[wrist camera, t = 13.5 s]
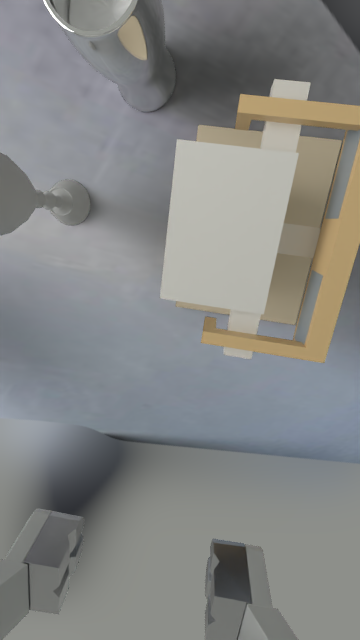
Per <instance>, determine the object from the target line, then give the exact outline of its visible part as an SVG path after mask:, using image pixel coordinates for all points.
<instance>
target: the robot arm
mask: <svg viewBox="0 0 360 640" xmlns="http://www.w3.org/2000/svg"><path fill="white" fill-rule="evenodd" d="M83 527H84V518H83V517H78V516H74V515H69V514H64V513H58V512H53V511H49V510H43V509H36V510H35V511H34V513H32V515H31V517H30V518H29V520H28V522H27V523H26V525H25V527H24V528H23V530H22V531H21V533H20V535H19V536H18V538H17V540H16V541H15V543H14V544H13V546H12V548H11V549H10V551H9V552H8V554H7V556H6V557H5V559H4V560H3V559H0V640H2V639H3V638H4V637H5V636H6V635H7V634H8V633H9V632H10V631H11V630H12V629H13V628H14V627H15V626H16V625H17V624H18V623H19V622H20V621H21V620H22V619H23V618H24V617H25V616H26V615H27V614H28V613H29V610H33V611H40V612H46V613H53V614H59V612H60V610H61V607H62V605H63V602H64V599H65V597H66V594H67V592H68V589H69V577H70V576H71V575H72V574H73V573H75V571H76V568H77V565H78V563H79V559H80V556H81V552H82V547H83V539H84V537H83V535H82V534H81V532H82V529H83ZM205 596H206V598H207V605H206V610H205V640H298V638H297V637H296V635H295V634H294V632H293V631H292V629H291V628H290V626H289V625H288V623H287V622H286V620H285V619H284V617H283V616H282V614H281V613H280V611H279V610H278V609H276V608H273V607H272V601H271V595H270V589H269V584H268V578H267V572H266V566H265V560H264V554H263V550H262V548H261V547H259V546H253V545H246V544H243V543H237V542H231V541H224V540H218V539H212V542H211V546H210V557H209V558H208V562H207V569H206V580H205Z"/></svg>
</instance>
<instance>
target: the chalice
mask: <svg viewBox="0 0 360 640" xmlns="http://www.w3.org/2000/svg"><path fill="white" fill-rule="evenodd" d="M42 207H44V208H45V209H47V210H50V212H51V213H52V214H53V215H54V216H55V218H56V219H58V220H59V221H60V222H61V223H63V224H66V225H71V226H74V225H78V224H80V223H81V222H83V221H84V220H85V219H86V217H87V216H88V214H89V211H90V198H89V195H88V193H87V191H86V189H85V188H84V187H83V186H82V185H81V184H80V183H79V182H76V181H74V180H69V179H65V180H61V181H59V182H58V183H56V184H55V185H54V186H53V187H52V188H51V189H50V191H45V192H42V191H40V190H35V188H34V187H33V185H32V183H31V182H30V180H29V178H28V177H27V175H26V174H25V173H24V172H23V171H22V170H21V169H20V168H19V167H18V166H17V165H16V164H15V163H14V162H13V161H12V160H11V159H10V158H9V157H8V156H6V155H4V154H2V153H0V235H4V234H8V233H11V232H12V231H14V230H15V229H16V228H18V227H19V226H20V225H22V224H23V223H24V222H26V221H27V220H28V219H29V217H30V216H31V214H32V213H33V211H34V210H35V208H42Z"/></svg>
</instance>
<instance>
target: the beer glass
mask: <svg viewBox="0 0 360 640" xmlns="http://www.w3.org/2000/svg"><path fill="white" fill-rule="evenodd" d="M43 1H44V4H45V6H46V7H47V9H48V11H49V12H50V14H51V15H52V17H53V18H54V19H55V20H56V21H57V23H58V25H59V26H60V28H61V29H62V31H63V32H64V34H65V35H66V37H67V38H68V40H69V41H70V42H71V44H72V45H73V46H74V48H75V49H76V50H77V52H78V53H79V54H80V55H81V56H82V58H83V59H84V60H85V61H86V62H87V63H88V64H89V65H90V66H91V67H92V68H93V69H94V70H96V71H97V72H98V73H100V74H101V75H102V76H104V77H105V78H107V79H108V80H110V81H112V82H113V83H115V84H117V85H118V88H119V91H120V93H121V95H122V97H123V99H124V100H125V101H126V102H127V104H129V105H130V106H131V107H132V108H134V109H136V110H138V111H142V112H151V111H155V110H157V109H159V108H161V107H162V106H163V105H164V104H166V102H167V101H168V100H169V99H170V97H171V95H172V93H173V91H174V87H175V83H176V69H175V64H174V61H173V59H172V57H171V55H170V53H169V52H168V50H167V49H166V48H165V21H164V11H163V5H162V0H43Z"/></svg>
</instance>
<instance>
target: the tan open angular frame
mask: <svg viewBox="0 0 360 640" xmlns="http://www.w3.org/2000/svg"><path fill="white" fill-rule="evenodd" d="M251 120H260V121H270V122H279V123H288V124H298V125H307V126H317V127H326V128H335V129H345V130H346V132H345V136H344V140H343V144H342V148H341V152H340V156H339V159H338V163H337V167H336V171H335V175H334V179H333V183H332V187H331V191H330V195H329V199H328V203H327V207H326V211H325V214H324V218H323V222H322V226H321V230H320V234H319V238H318V242H317V246H316V250H315V254H314V258H313V262H312V266H311V269H310V273H309V277H308V281H307V285H306V289H305V293H304V297H303V301H302V305H301V309H300V313H299V317H298V321H297V324H296V328H295V332H294V336H293V340H286V339H280V338H274V337H267V336H261V335H255V334H248V333H242V332H236V331H230V330H223V329H217V328H216V318H211V317H205V321H204V327H203V333H202V340H201V343H205V344H211V345H217V346H223V347H229V348H235V349H241V350H247V351H254V352H260V353H266V354H272V355H278V356H284V357H290V358H296V359H302V360H309V361H315V362H321V363H324V362H325V359H326V355H327V352H328V349H329V345H330V342H331V339H332V335H333V332H334V328H335V325H336V322H337V318H338V315H339V311H340V308H341V305H342V301H343V298H344V295H345V291H346V288H347V284H348V281H349V278H350V274H351V271H352V267H353V264H354V261H355V257H356V254H357V251H358V247H359V244H360V106H355V105H345V104H335V103H325V102H315V101H305V100H295V99H285V98H275V97H265V96H255V95H245V94H240V99H239V106H238V112H237V118H236V125H235V129H237V130H246V131H248V129H249V126H250V123H251Z"/></svg>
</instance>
